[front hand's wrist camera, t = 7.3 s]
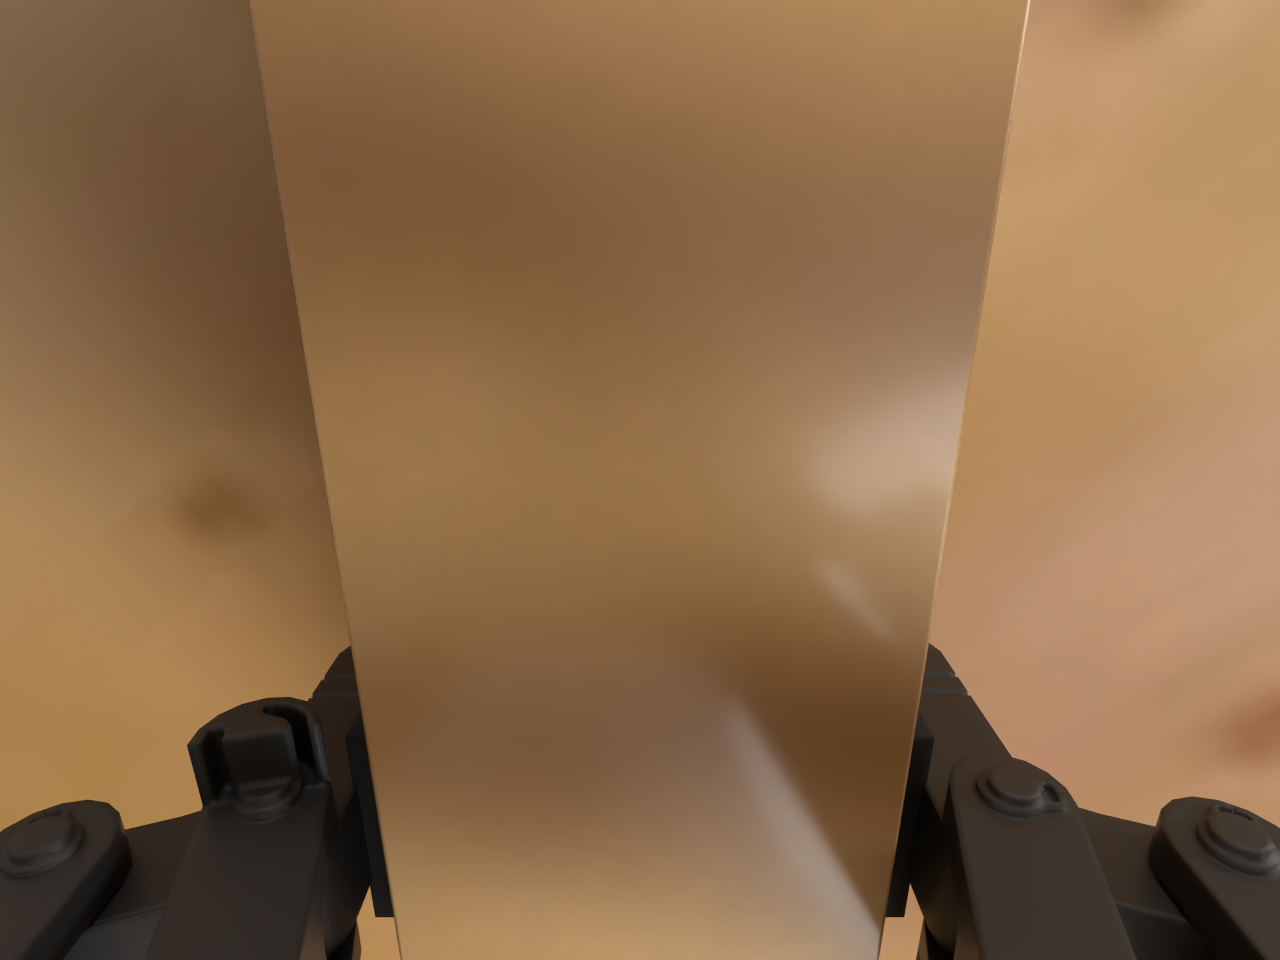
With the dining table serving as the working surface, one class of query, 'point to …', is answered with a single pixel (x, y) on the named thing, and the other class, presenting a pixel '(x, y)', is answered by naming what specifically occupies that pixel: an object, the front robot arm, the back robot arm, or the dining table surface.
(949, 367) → the beam
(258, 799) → the front robot arm
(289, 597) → the dining table surface
